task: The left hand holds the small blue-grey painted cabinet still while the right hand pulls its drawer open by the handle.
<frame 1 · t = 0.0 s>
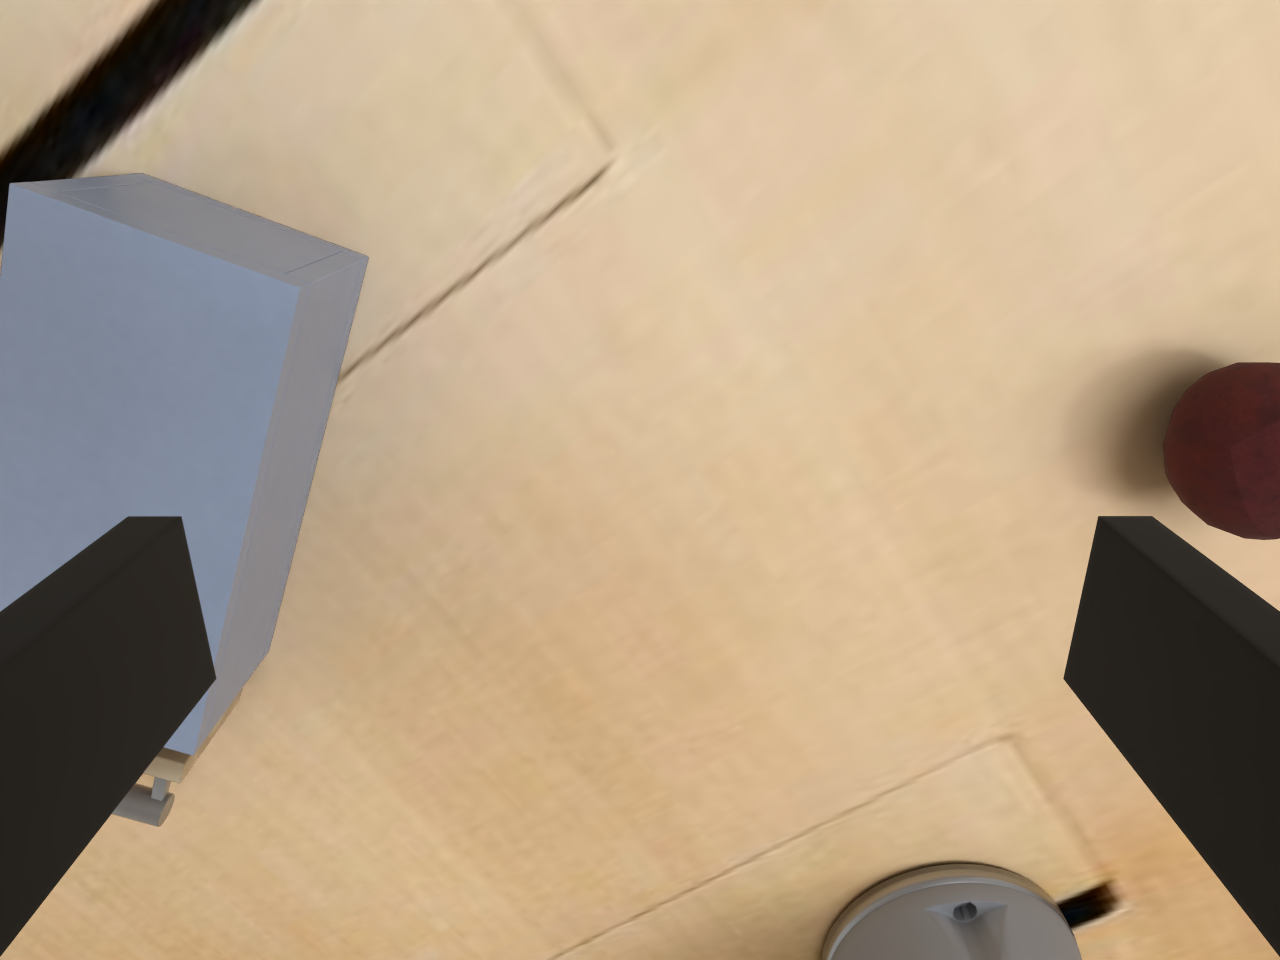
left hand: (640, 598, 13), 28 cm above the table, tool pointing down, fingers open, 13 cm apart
drawer: (145, 588, 40), point 4 cm above the table, slide at 1.6 cm
cabinet: (212, 437, 41), on the table
dark red ball: (1207, 421, 41), on the table
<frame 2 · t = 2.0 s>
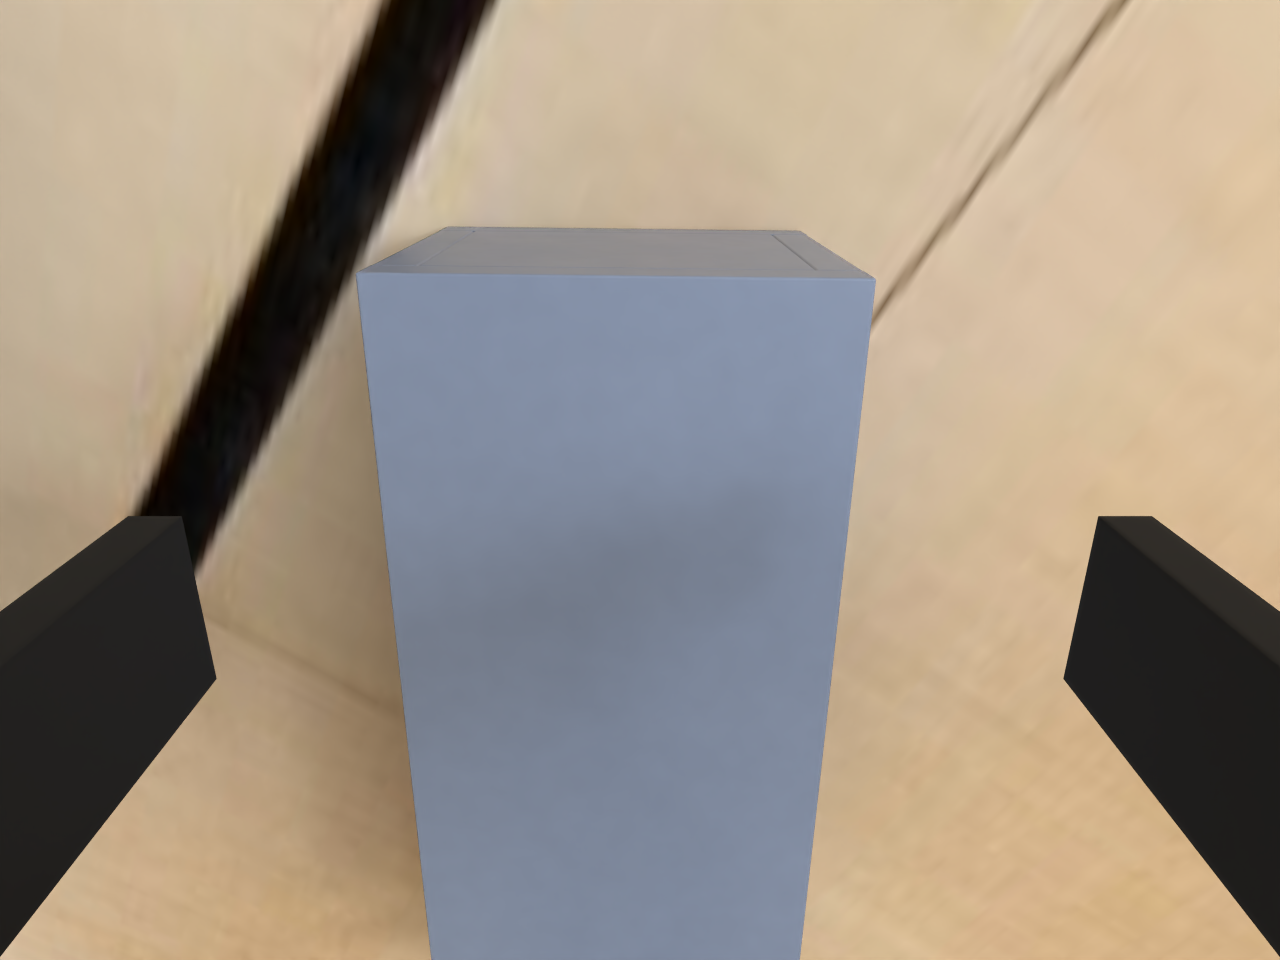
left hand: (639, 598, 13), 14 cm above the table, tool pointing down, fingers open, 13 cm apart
cabinet: (622, 573, 28), on the table
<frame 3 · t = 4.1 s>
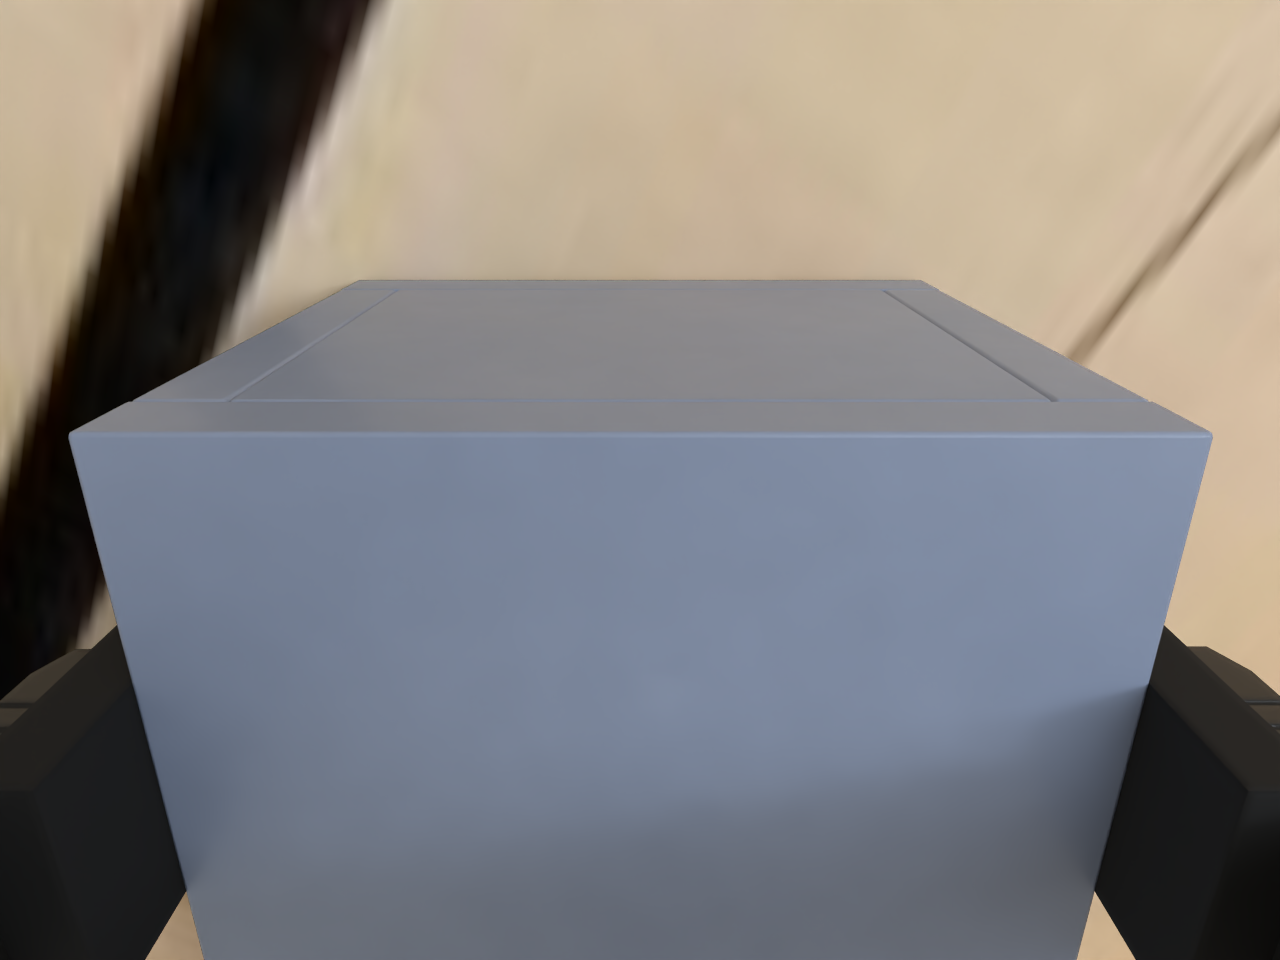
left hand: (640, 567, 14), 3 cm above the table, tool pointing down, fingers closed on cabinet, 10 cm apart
cabinet: (639, 775, 19), on the table, touching left hand
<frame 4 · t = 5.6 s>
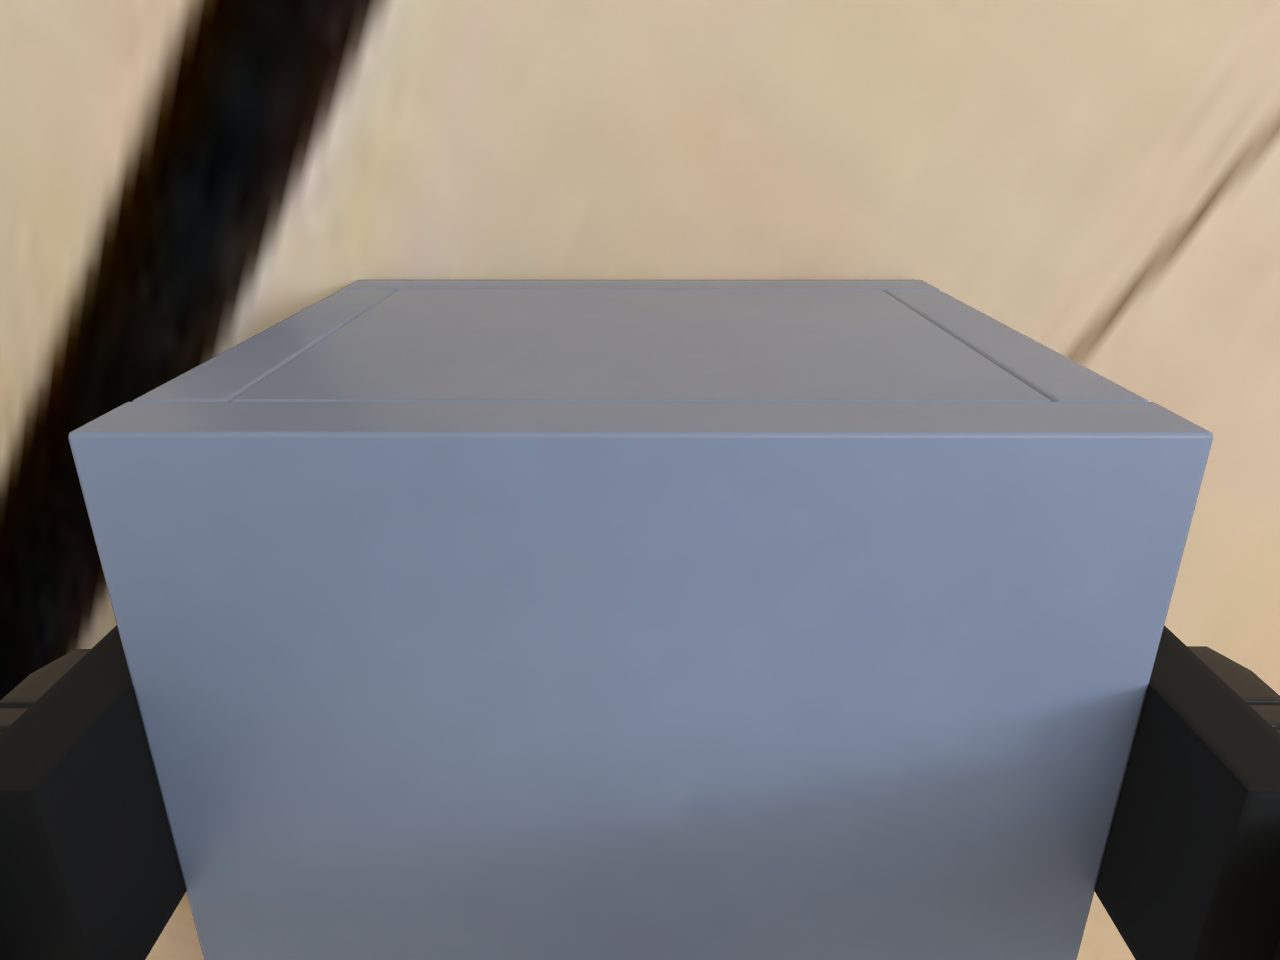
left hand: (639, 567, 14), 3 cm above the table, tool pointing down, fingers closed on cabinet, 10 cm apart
cabinet: (639, 774, 19), on the table, touching left hand
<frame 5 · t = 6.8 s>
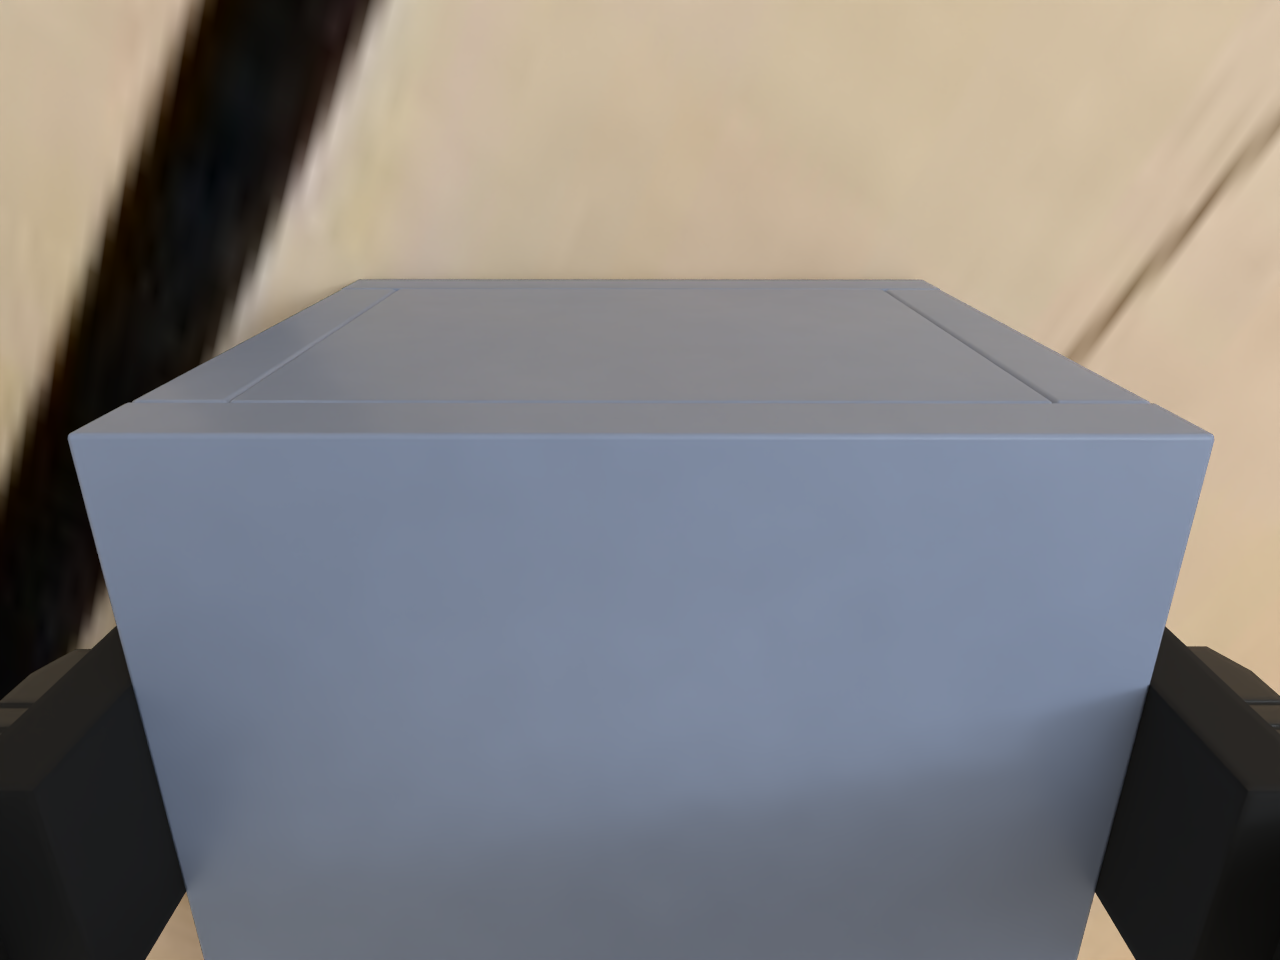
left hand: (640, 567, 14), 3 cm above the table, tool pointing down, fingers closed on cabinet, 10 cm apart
cabinet: (640, 774, 19), on the table, touching left hand
when the left hand's fingers open (3 cm above the table, at t = 8.4 s): cabinet stays where it is, on the table.
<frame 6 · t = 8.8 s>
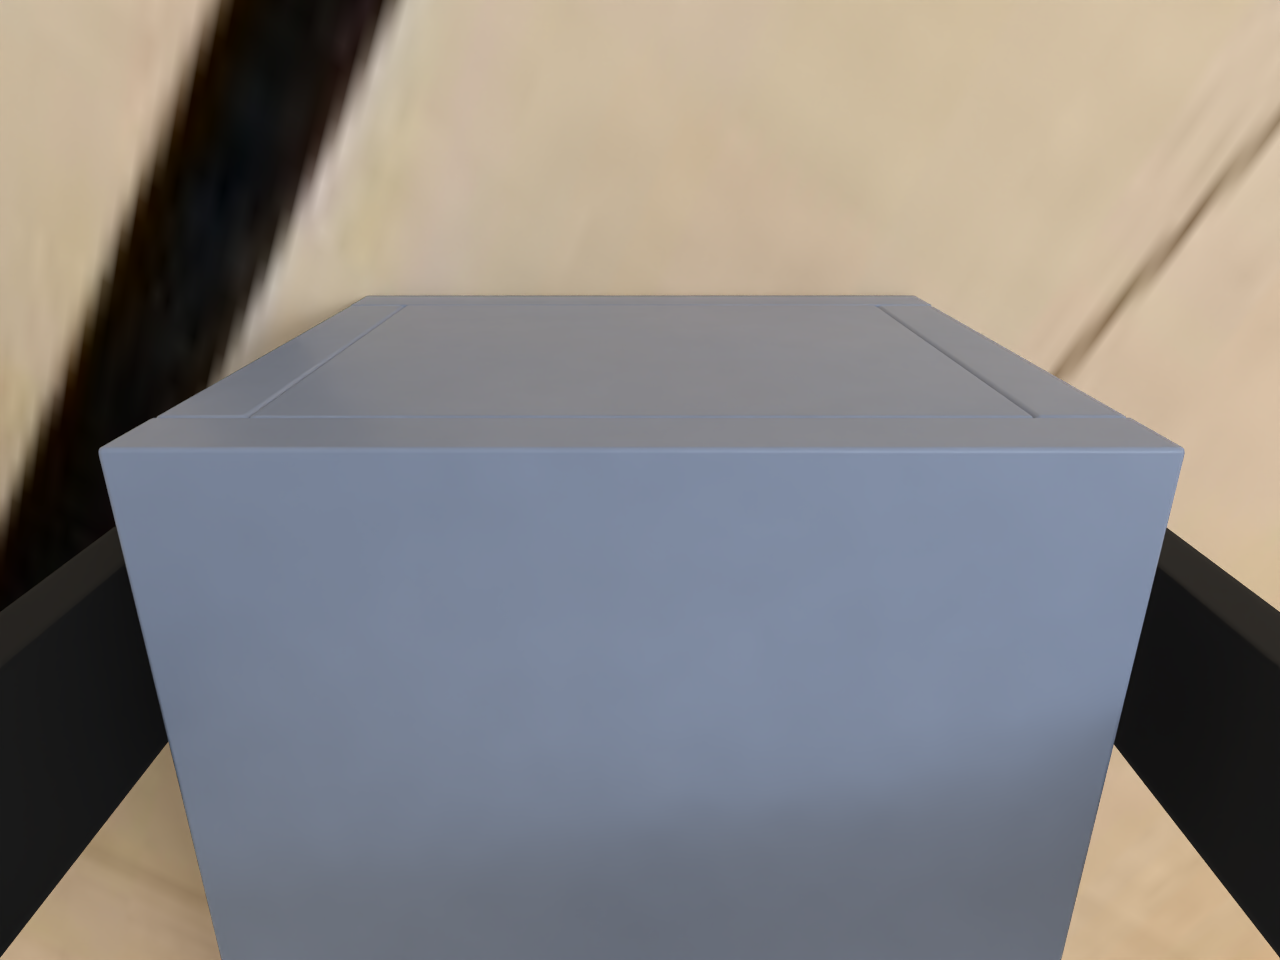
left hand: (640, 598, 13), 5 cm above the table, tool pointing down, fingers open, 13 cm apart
cabinet: (640, 779, 20), on the table
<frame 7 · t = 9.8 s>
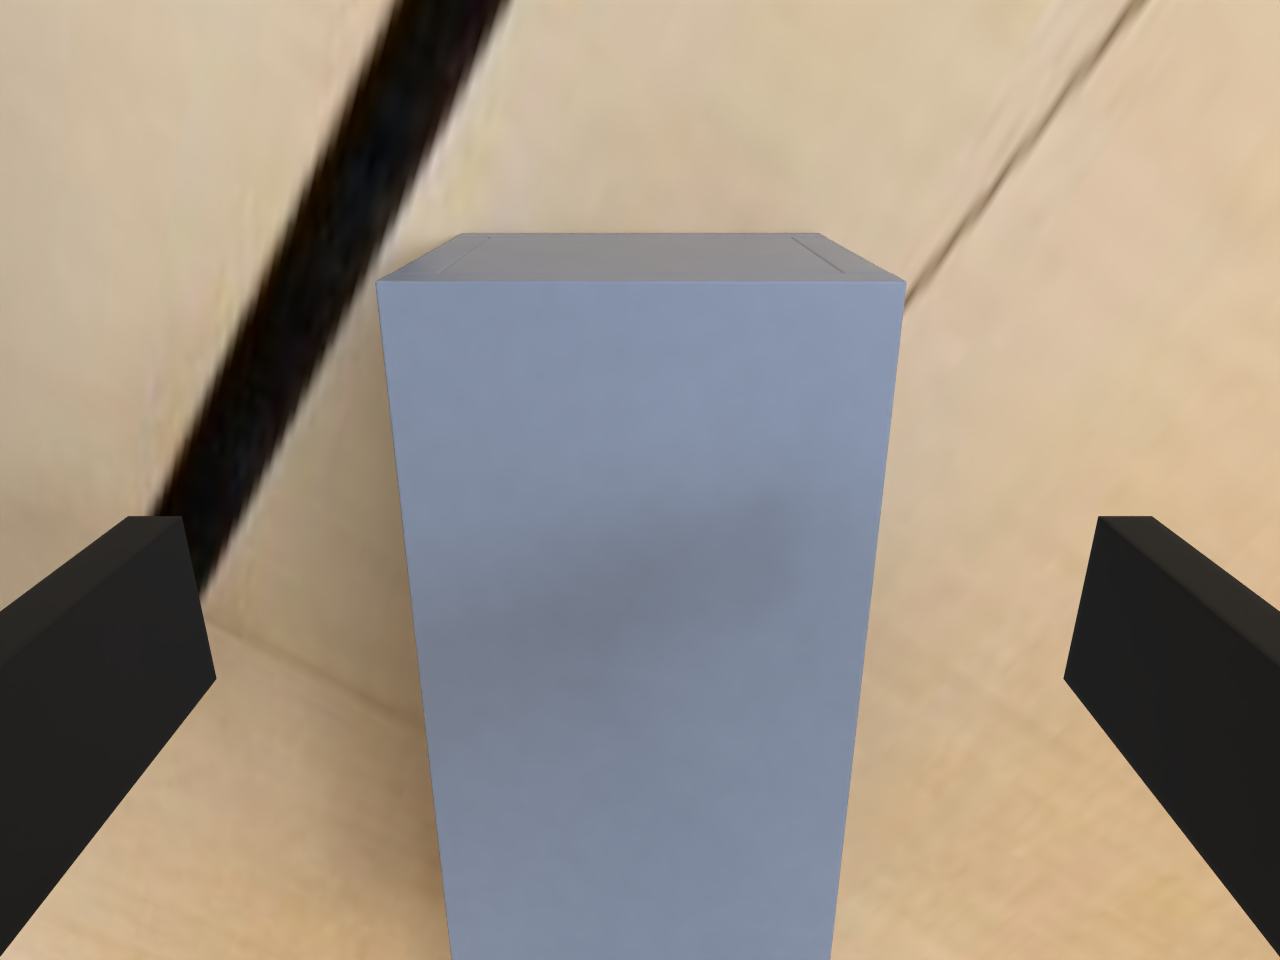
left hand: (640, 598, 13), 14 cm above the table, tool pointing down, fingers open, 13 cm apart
cabinet: (640, 581, 28), on the table
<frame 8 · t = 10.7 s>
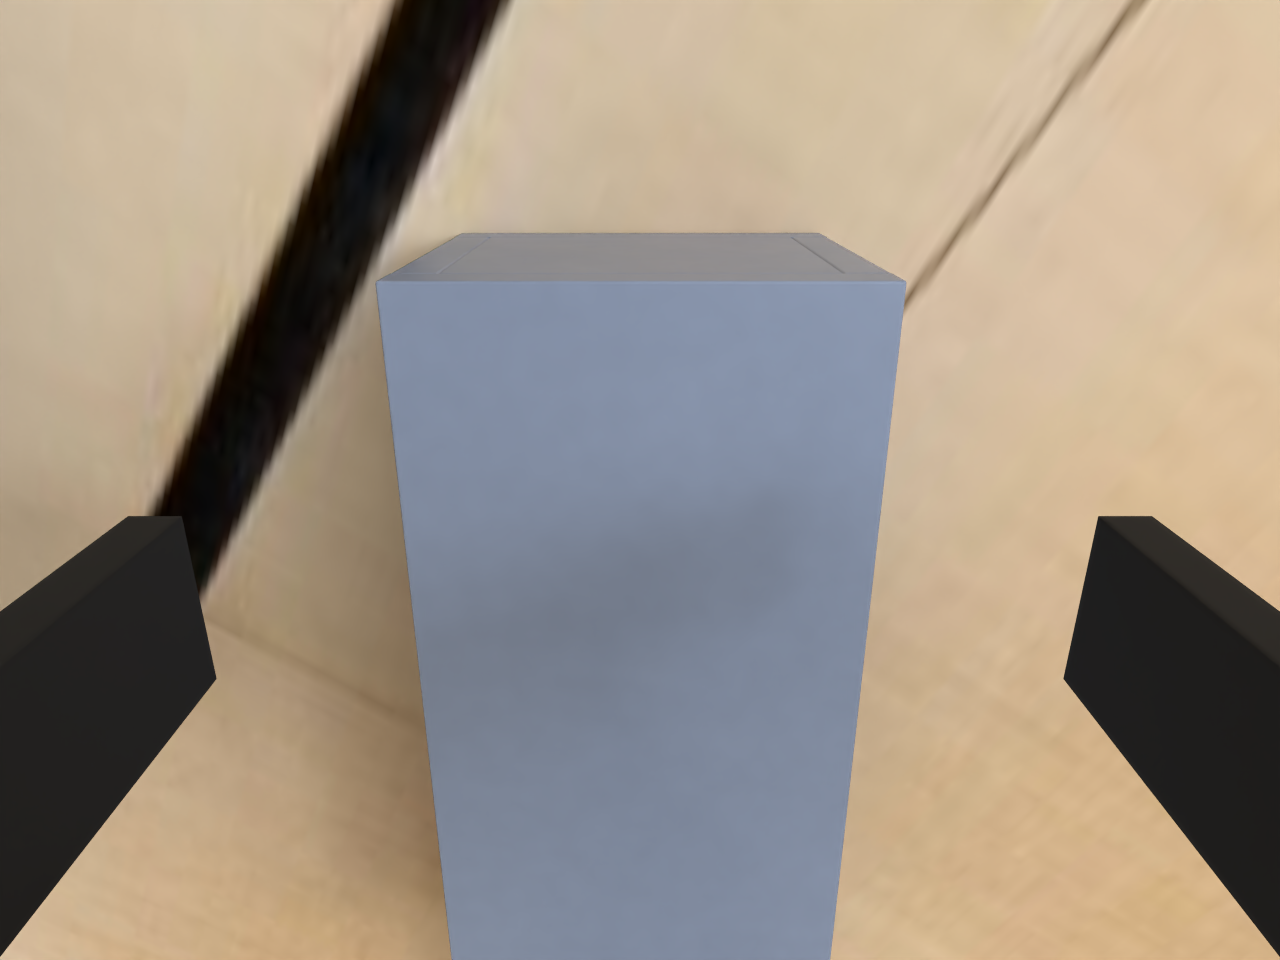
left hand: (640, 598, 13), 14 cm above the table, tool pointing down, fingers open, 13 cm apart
cabinet: (640, 581, 28), on the table
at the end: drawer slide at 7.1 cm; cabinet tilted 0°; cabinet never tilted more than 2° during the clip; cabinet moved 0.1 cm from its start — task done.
